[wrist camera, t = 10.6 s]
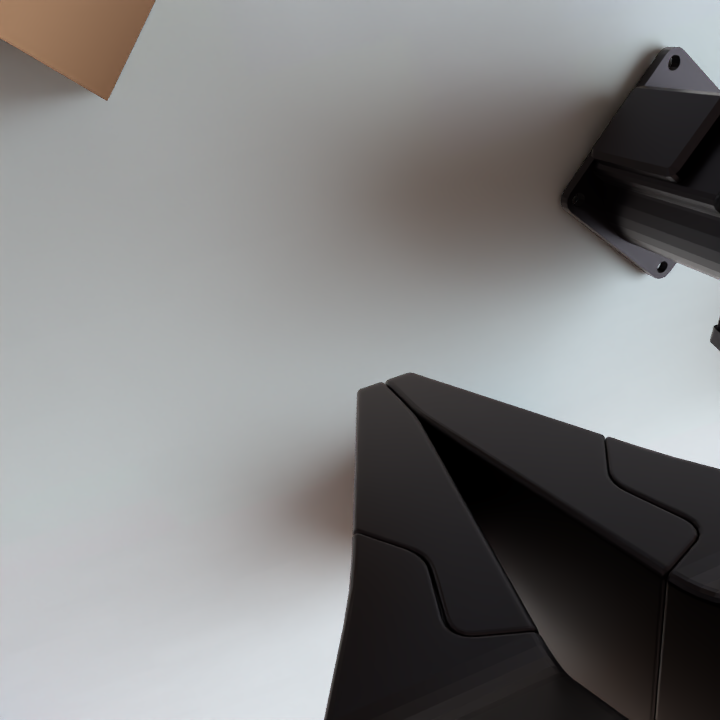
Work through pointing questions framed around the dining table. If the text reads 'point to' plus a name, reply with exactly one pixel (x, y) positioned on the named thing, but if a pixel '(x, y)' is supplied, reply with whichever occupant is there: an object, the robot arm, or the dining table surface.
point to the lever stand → (76, 36)
